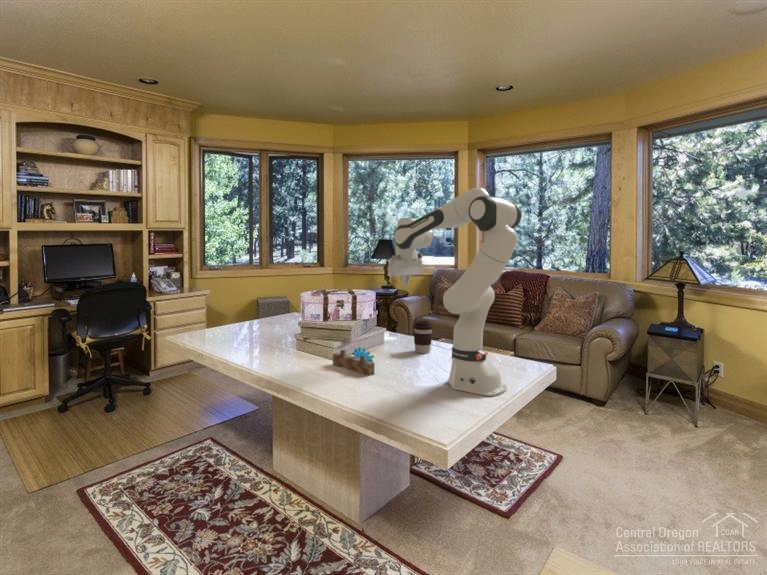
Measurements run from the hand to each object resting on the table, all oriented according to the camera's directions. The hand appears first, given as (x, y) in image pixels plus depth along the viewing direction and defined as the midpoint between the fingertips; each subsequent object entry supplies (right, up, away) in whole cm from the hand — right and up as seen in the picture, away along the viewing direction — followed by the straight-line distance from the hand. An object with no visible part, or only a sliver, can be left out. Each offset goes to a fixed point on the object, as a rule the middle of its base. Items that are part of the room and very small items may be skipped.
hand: (405, 285), depth 201 cm
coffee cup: (+9, -32, +18) cm, 38 cm away
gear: (-18, -35, -6) cm, 40 cm away
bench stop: (-23, -35, -11) cm, 44 cm away
